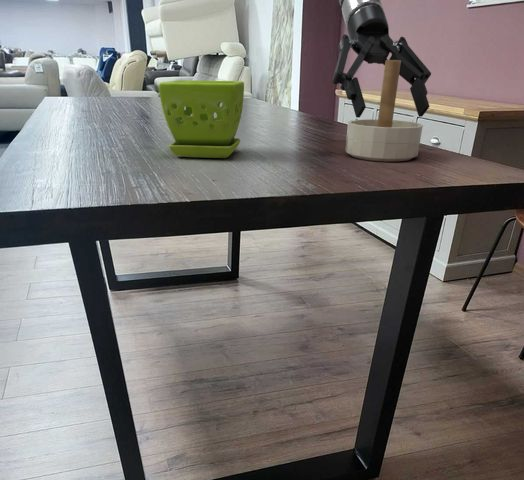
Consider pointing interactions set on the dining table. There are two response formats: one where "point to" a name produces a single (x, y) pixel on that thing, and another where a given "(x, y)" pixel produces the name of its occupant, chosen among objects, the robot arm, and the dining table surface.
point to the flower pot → (202, 116)
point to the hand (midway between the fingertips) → (393, 112)
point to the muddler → (388, 93)
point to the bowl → (383, 140)
